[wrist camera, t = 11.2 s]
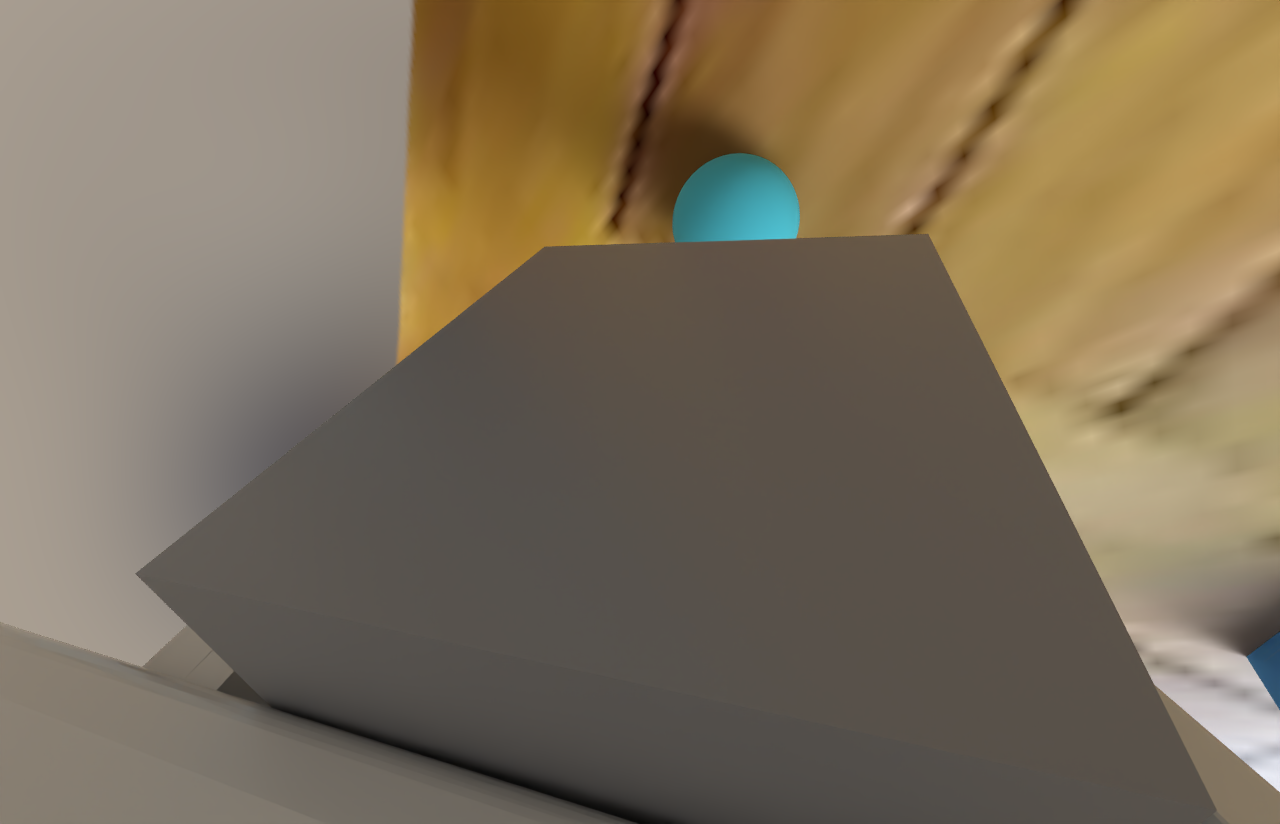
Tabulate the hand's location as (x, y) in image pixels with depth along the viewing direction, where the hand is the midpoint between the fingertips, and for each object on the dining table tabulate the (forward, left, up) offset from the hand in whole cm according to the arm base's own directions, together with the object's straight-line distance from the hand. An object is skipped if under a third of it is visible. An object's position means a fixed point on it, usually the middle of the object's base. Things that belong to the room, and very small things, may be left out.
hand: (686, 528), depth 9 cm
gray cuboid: (0, 0, -4) cm, 4 cm away
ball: (+2, -1, -16) cm, 16 cm away
